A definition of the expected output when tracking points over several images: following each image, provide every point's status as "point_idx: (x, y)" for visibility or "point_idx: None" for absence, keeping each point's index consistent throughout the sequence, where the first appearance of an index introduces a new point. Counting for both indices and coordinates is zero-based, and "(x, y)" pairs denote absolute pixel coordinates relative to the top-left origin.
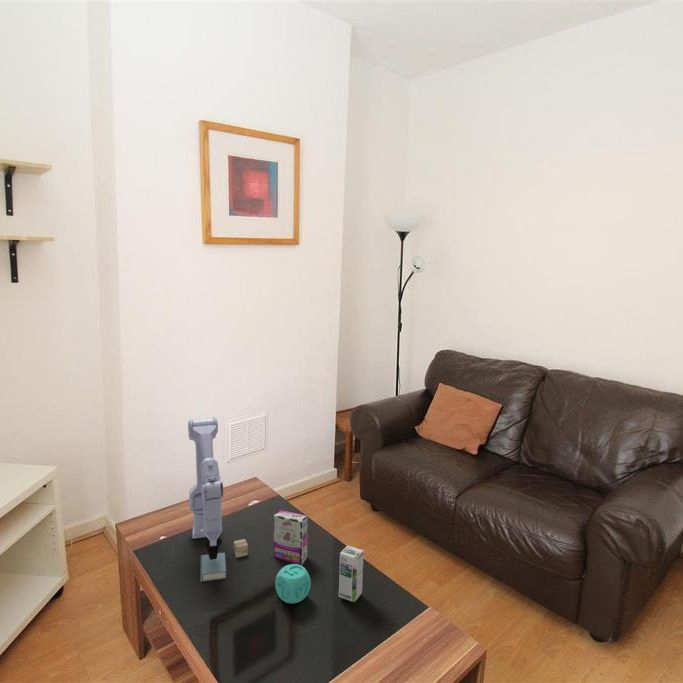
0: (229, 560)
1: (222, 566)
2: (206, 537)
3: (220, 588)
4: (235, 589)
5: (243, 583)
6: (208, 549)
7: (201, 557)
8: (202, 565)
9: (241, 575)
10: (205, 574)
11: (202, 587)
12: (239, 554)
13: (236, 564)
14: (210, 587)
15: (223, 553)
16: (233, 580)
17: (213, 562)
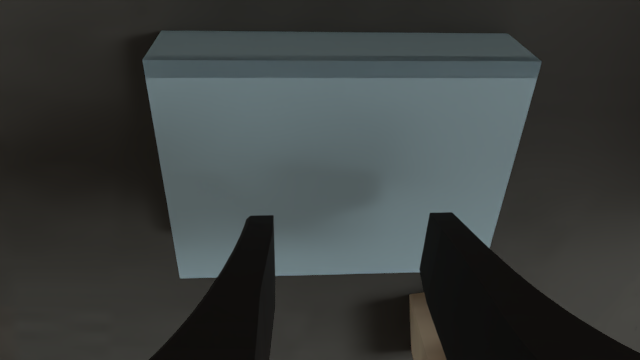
0: None
1: None
2: (526, 351)
3: (49, 194)
4: (38, 283)
5: (111, 324)
6: (180, 339)
7: (491, 71)
8: (321, 82)
9: None
10: (152, 109)
11: (62, 49)
12: (419, 347)
13: (357, 294)
14: (63, 120)
15: None
16: (154, 274)
17: (345, 186)
